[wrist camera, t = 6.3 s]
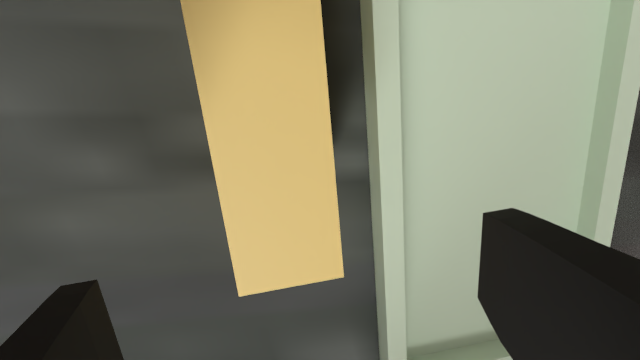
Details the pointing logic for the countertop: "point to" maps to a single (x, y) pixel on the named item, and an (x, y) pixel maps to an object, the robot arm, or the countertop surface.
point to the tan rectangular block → (269, 137)
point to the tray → (486, 146)
